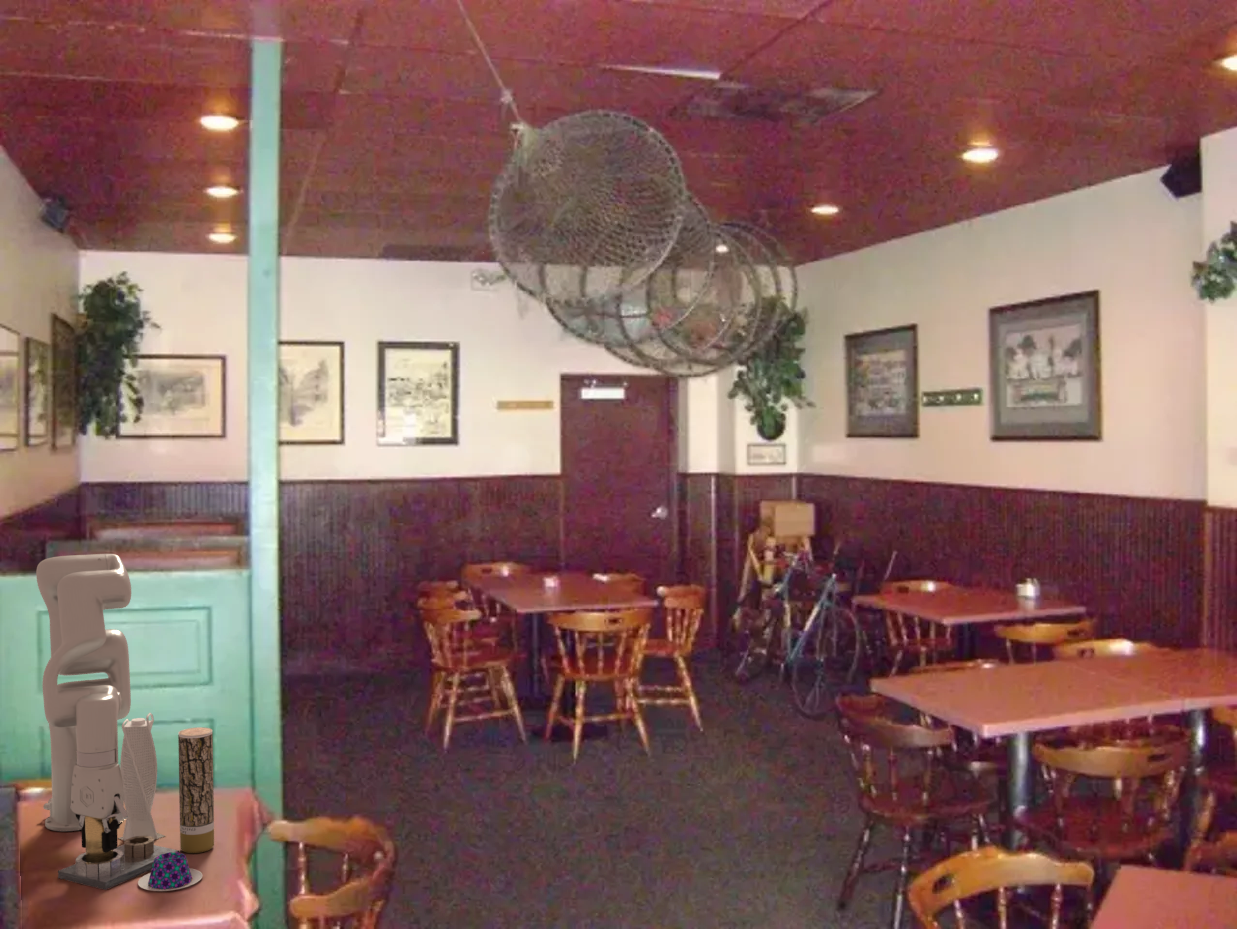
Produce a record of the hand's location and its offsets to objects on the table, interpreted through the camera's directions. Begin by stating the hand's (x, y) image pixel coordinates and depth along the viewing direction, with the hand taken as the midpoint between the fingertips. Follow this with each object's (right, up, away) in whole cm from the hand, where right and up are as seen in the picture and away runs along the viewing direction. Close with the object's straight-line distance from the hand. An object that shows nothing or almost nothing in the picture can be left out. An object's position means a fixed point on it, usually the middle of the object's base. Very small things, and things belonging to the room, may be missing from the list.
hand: (99, 847), depth 252 cm
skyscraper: (0, -5, +21) cm, 22 cm away
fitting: (0, -3, 0) cm, 3 cm away
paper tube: (+14, -5, +16) cm, 22 cm away
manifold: (+2, -6, +5) cm, 8 cm away
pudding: (+15, -7, -2) cm, 16 cm away
